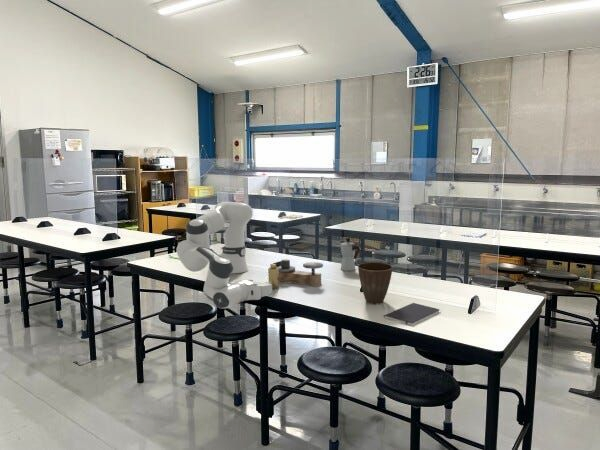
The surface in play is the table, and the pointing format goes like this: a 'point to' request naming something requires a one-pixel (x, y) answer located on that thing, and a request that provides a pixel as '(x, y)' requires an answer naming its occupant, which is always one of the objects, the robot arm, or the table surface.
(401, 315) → the notebook
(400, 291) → the table surface
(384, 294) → the plant pot
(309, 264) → the balance
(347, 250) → the coffee maker
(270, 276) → the brass weight
